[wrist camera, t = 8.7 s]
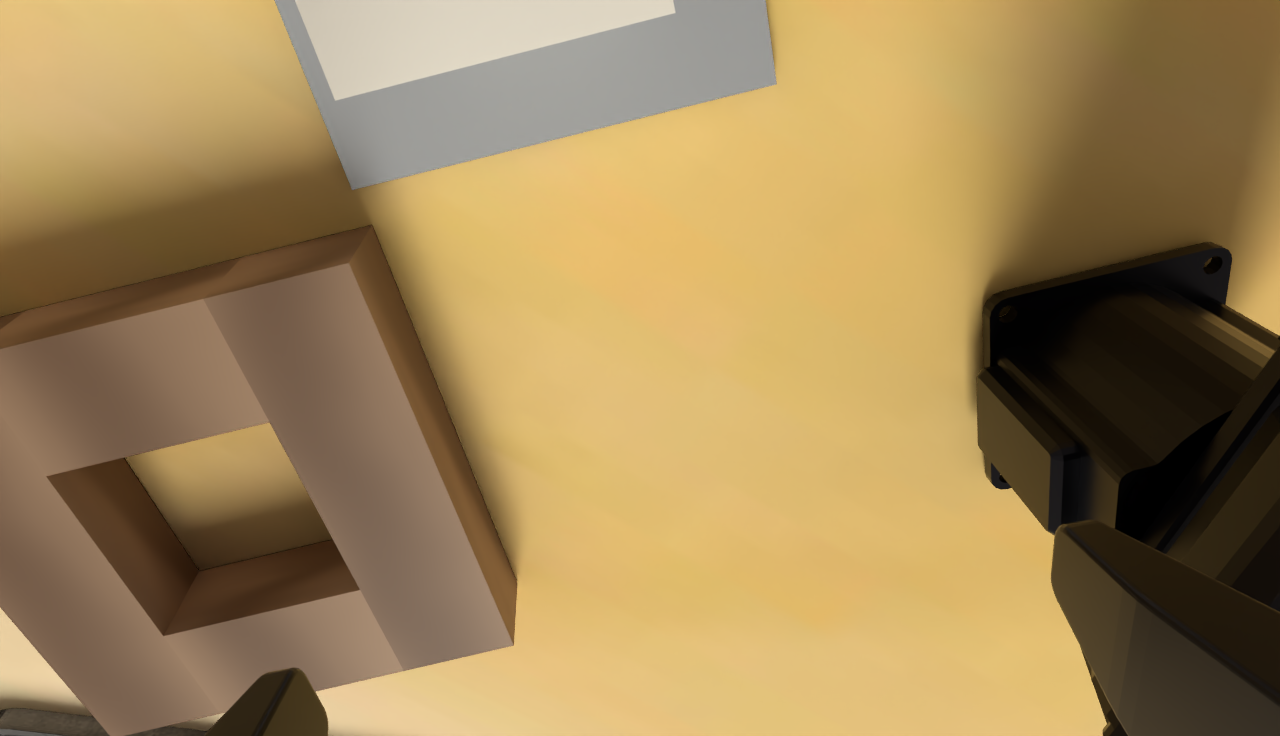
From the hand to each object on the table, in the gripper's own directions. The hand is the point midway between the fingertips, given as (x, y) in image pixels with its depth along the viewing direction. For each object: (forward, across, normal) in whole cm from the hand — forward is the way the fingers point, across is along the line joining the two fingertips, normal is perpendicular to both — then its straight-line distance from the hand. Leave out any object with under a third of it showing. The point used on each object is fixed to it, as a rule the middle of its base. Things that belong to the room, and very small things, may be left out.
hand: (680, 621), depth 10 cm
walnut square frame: (+12, +12, +4) cm, 17 cm away
